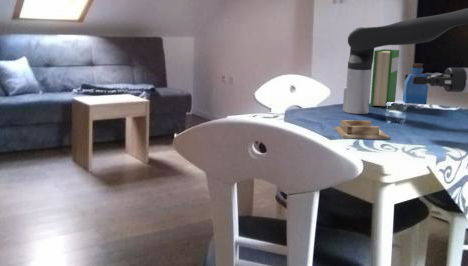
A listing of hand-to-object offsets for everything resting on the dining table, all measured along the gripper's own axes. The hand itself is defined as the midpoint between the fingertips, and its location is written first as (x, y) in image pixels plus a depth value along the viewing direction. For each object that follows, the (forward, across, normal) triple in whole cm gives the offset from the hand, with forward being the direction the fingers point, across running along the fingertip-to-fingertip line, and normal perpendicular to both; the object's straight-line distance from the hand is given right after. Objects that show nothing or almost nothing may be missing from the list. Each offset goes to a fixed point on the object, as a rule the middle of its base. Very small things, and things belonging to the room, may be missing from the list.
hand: (409, 79), depth 156 cm
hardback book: (-12, -65, +18) cm, 68 cm away
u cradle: (+14, 0, +18) cm, 22 cm away
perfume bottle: (-2, 0, +8) cm, 8 cm away
